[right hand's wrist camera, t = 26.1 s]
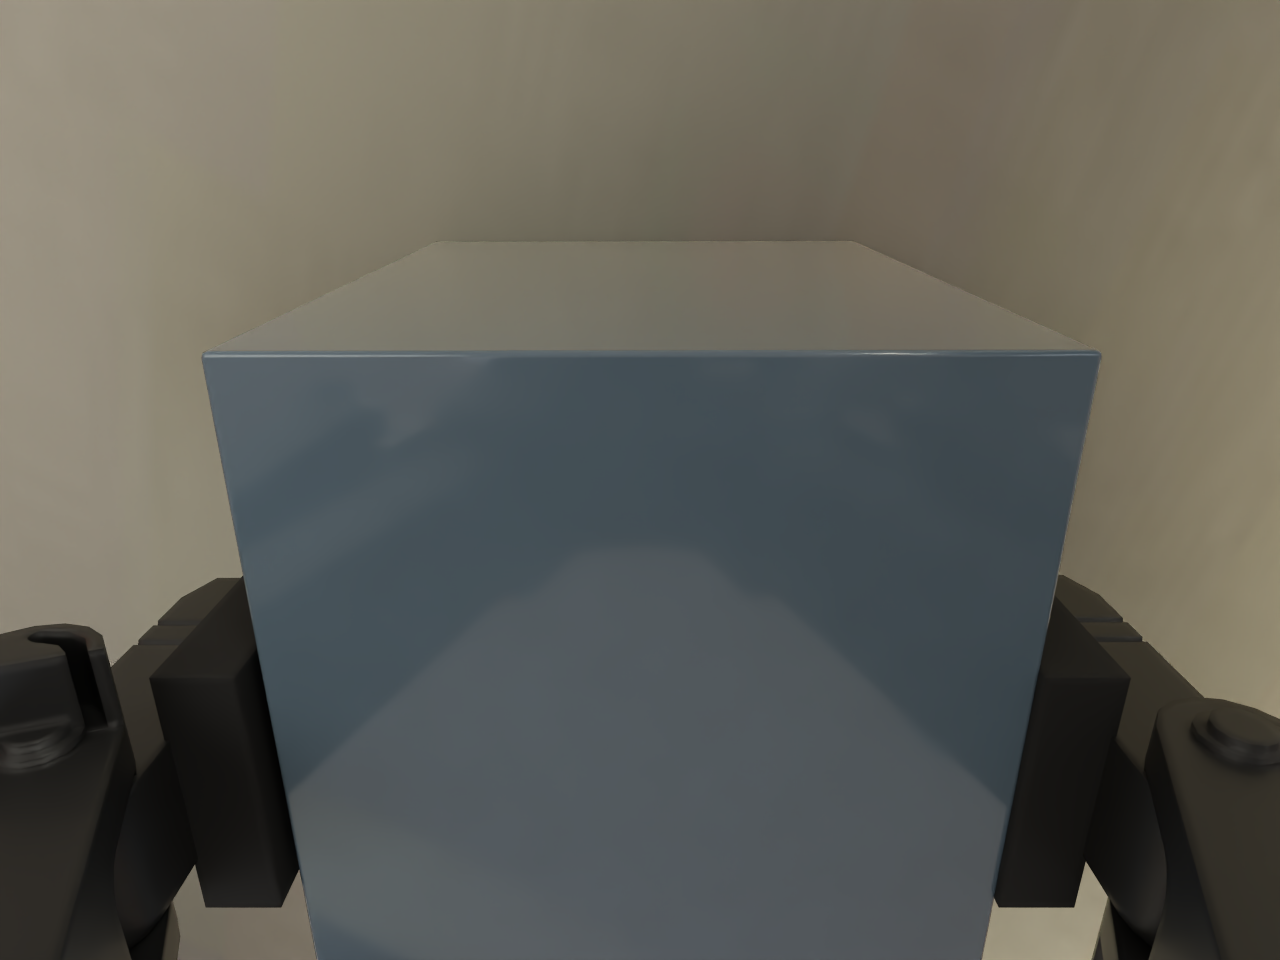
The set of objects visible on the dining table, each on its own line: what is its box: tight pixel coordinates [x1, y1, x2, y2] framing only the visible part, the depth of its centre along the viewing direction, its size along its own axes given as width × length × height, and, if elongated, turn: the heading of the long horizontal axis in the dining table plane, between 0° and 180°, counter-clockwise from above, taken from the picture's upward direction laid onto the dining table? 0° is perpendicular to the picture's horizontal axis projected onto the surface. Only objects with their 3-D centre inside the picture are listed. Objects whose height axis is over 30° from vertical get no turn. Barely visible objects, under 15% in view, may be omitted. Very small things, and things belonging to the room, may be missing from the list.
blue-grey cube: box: [202, 241, 1102, 960], centre depth 12 cm, size 8×7×8 cm
